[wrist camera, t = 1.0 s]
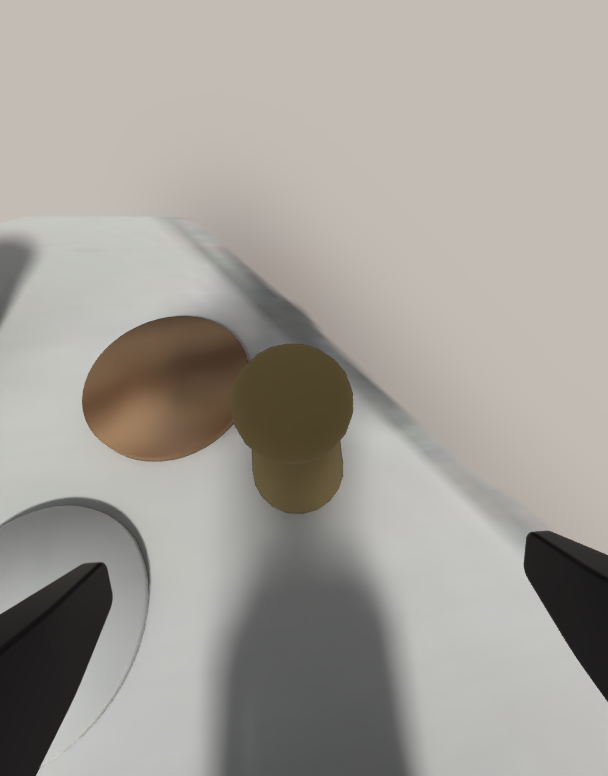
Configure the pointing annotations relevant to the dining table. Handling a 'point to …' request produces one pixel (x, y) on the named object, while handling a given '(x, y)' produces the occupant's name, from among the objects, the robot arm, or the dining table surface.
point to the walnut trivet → (164, 388)
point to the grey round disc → (56, 558)
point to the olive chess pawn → (293, 424)
